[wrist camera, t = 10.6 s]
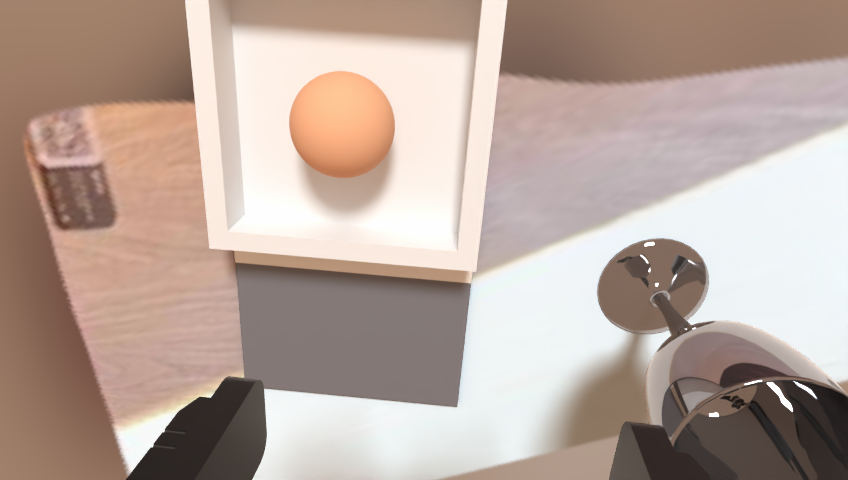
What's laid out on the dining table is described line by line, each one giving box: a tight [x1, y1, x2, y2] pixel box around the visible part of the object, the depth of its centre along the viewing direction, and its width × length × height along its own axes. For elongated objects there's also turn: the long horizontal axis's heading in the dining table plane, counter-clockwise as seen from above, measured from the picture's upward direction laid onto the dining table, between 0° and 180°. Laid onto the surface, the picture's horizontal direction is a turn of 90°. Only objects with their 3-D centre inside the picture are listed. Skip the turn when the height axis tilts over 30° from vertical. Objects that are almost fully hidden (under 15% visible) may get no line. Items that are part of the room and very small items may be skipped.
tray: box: [185, 0, 507, 272], centre depth 31 cm, size 16×16×4 cm
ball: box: [289, 71, 395, 178], centre depth 29 cm, size 6×6×6 cm
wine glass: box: [597, 238, 848, 480], centre depth 29 cm, size 8×8×15 cm
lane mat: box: [234, 251, 472, 407], centre depth 35 cm, size 16×30×1 cm, turn 176°
